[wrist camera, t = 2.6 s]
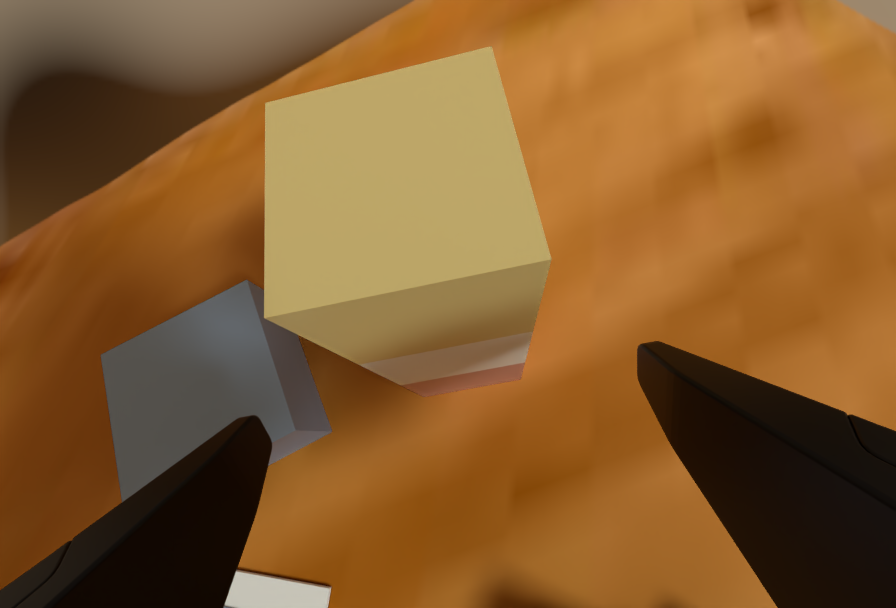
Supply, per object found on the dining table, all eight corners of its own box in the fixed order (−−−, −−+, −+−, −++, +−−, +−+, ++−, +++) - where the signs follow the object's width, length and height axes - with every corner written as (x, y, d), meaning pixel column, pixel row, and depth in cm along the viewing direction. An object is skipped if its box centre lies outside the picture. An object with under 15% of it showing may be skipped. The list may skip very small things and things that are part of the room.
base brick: (334, 431, 20) (295, 430, 16) (196, 505, 20) (124, 520, 16) (288, 305, 23) (246, 279, 19) (167, 368, 23) (100, 354, 19)
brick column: (520, 379, 19) (552, 259, 6) (423, 396, 20) (264, 317, 7) (500, 288, 21) (491, 46, 8) (411, 306, 22) (265, 102, 8)
